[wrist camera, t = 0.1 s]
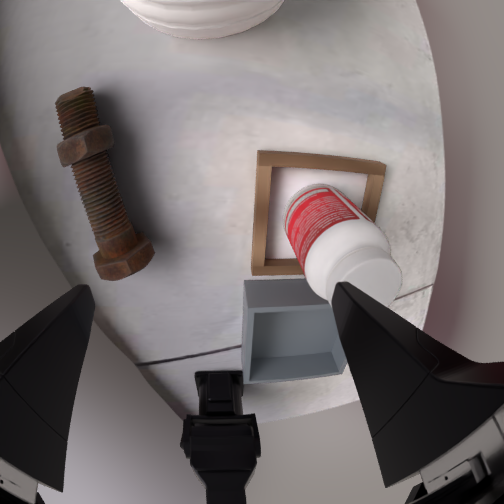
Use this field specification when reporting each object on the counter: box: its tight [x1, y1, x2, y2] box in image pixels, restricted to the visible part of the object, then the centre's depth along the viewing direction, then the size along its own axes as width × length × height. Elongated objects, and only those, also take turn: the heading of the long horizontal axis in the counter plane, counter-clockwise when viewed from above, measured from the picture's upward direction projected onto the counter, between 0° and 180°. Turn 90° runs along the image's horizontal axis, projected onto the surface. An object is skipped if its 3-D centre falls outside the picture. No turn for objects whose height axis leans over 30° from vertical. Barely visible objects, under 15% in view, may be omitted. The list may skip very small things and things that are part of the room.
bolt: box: [55, 87, 155, 281], centre depth 19 cm, size 6×5×15 cm
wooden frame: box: [251, 150, 386, 276], centre depth 24 cm, size 11×11×1 cm
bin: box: [241, 279, 347, 384], centre depth 29 cm, size 12×12×4 cm
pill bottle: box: [283, 184, 402, 307], centre depth 20 cm, size 6×6×11 cm
